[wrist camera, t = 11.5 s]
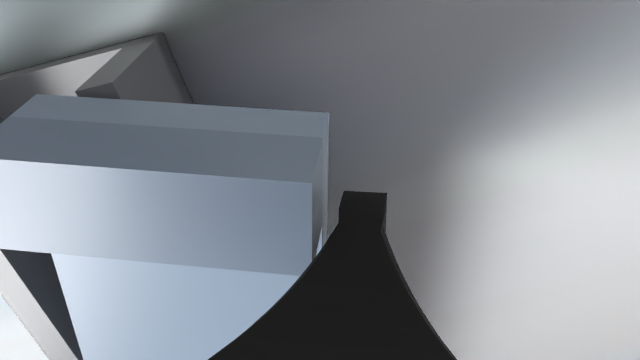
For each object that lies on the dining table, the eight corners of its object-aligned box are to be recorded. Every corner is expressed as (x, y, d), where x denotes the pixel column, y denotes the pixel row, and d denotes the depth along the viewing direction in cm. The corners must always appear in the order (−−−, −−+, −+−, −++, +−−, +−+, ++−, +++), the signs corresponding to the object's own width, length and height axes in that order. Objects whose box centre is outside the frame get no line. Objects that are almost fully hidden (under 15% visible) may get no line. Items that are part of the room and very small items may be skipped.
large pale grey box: (335, 432, 23) (326, 512, 20) (191, 442, 24) (166, 518, 22) (162, 32, 15) (112, 82, 12) (-35, 84, 16) (-116, 137, 14)
